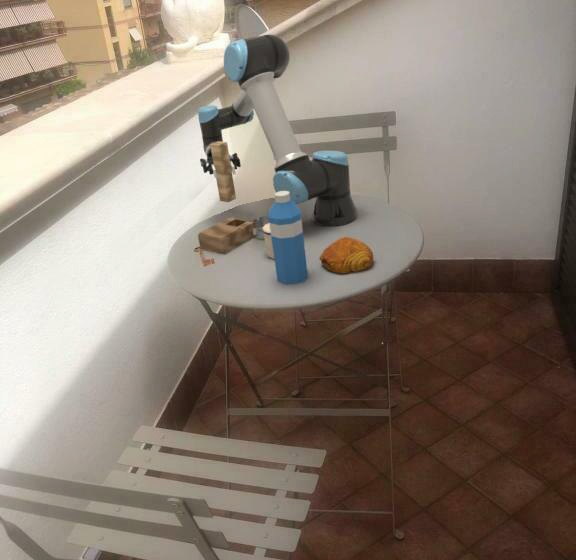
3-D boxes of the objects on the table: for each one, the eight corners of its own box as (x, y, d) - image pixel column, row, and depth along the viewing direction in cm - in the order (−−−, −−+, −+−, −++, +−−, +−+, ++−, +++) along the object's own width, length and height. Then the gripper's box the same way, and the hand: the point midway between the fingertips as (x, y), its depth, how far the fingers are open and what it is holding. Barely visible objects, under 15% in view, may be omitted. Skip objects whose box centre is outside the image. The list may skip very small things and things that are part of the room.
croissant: (355, 255, 177) (352, 230, 174) (382, 267, 163) (379, 240, 160) (313, 266, 172) (309, 241, 170) (337, 280, 158) (333, 252, 156)
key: (217, 265, 178) (211, 247, 191) (217, 262, 178) (210, 244, 191) (199, 268, 177) (193, 249, 190) (198, 265, 176) (193, 247, 189)
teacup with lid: (297, 257, 175) (292, 221, 170) (267, 261, 175) (262, 226, 169) (291, 241, 186) (287, 208, 180) (263, 246, 185) (258, 212, 180)
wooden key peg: (227, 197, 204) (218, 141, 195) (236, 198, 202) (227, 142, 192) (220, 201, 201) (210, 144, 192) (228, 202, 199) (218, 145, 190)
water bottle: (284, 287, 159) (272, 202, 147) (271, 275, 166) (259, 192, 155) (314, 278, 161) (305, 193, 150) (300, 266, 169) (291, 185, 158)
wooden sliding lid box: (232, 230, 200) (230, 216, 198) (256, 235, 194) (254, 220, 191) (200, 248, 189) (197, 233, 187) (224, 254, 183) (221, 238, 181)
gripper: (243, 160, 215) (253, 178, 194) (193, 169, 212) (198, 187, 192) (240, 140, 211) (250, 156, 191) (189, 149, 209) (194, 165, 188)
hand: (224, 172), depth 191 cm, fingers closed on wooden key peg, 6 cm apart
